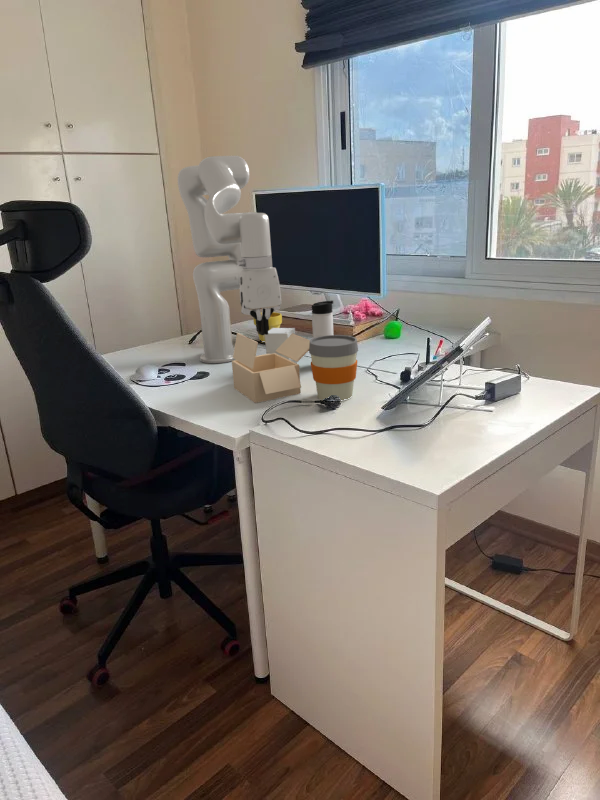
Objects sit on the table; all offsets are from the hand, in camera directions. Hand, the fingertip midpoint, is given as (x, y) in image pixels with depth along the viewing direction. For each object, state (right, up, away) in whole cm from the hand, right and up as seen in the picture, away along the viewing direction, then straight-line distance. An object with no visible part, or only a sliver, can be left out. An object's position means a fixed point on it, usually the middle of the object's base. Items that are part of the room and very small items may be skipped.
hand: (263, 333), depth 160 cm
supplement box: (+5, -9, +23) cm, 25 cm away
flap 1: (-5, -4, 0) cm, 6 cm away
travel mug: (+18, -7, +26) cm, 32 cm away
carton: (+1, -15, +6) cm, 16 cm away
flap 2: (+8, -3, +6) cm, 11 cm away
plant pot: (-1, +4, +62) cm, 62 cm away
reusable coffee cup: (+19, -17, -2) cm, 25 cm away
